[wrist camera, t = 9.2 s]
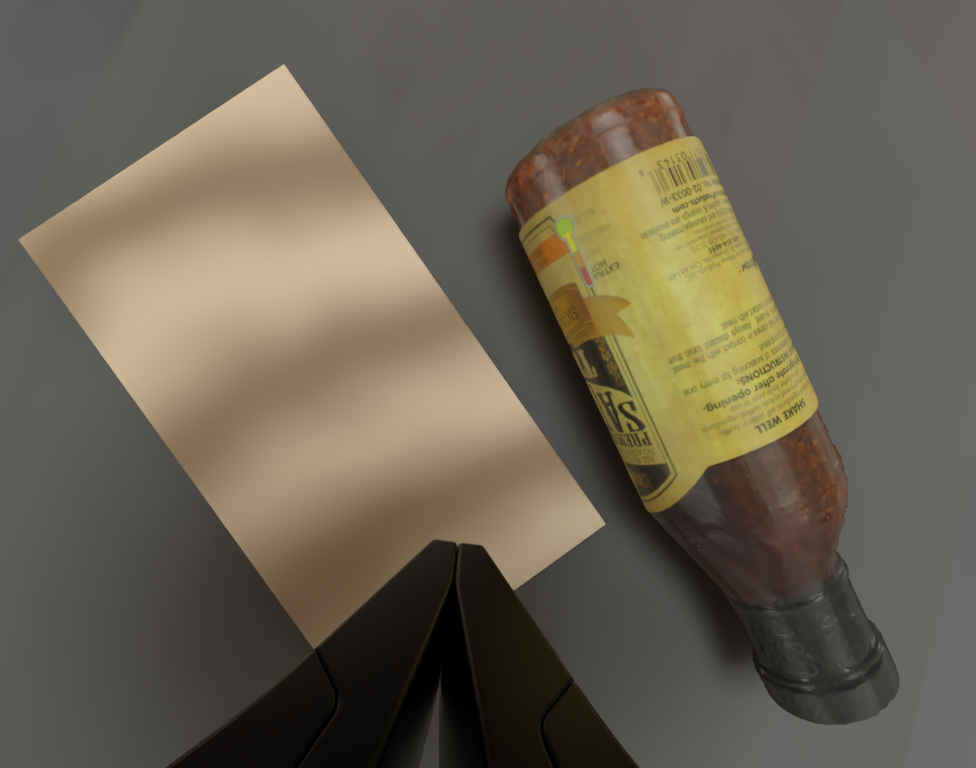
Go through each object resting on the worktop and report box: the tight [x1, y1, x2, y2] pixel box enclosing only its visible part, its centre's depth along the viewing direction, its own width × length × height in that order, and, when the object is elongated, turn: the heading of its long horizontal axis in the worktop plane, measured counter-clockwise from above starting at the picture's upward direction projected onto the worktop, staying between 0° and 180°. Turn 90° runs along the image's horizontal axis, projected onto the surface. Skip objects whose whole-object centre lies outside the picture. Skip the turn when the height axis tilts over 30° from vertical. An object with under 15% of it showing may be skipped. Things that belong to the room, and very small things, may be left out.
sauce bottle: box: [505, 88, 899, 725], centre depth 17 cm, size 6×6×20 cm
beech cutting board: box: [19, 65, 605, 649], centre depth 19 cm, size 20×11×1 cm, turn 35°
